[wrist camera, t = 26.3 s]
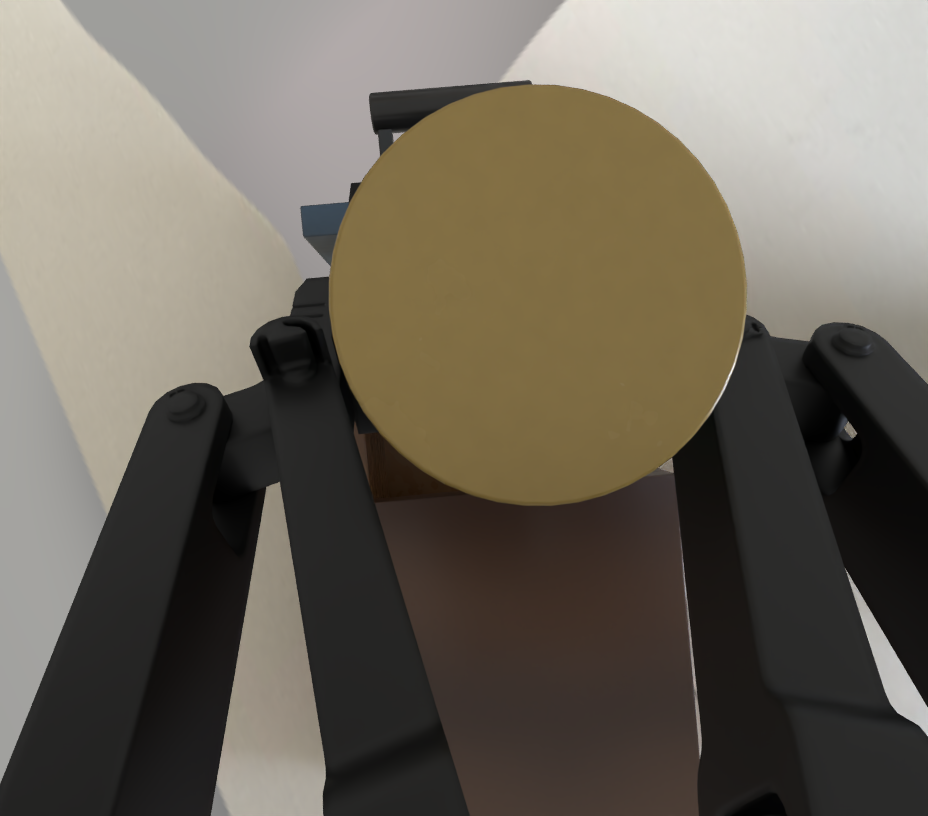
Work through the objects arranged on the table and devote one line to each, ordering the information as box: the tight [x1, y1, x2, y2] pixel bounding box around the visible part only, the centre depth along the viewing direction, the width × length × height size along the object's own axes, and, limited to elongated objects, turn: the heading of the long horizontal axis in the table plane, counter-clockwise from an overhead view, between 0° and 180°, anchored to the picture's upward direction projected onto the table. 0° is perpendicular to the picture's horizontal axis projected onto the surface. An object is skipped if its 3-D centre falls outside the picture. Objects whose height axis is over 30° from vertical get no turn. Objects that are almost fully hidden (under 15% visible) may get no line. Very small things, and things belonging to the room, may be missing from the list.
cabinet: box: [374, 468, 700, 816], centre depth 25 cm, size 16×14×9 cm
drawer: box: [301, 80, 532, 499], centre depth 25 cm, size 20×13×7 cm, turn 5°
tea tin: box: [329, 84, 747, 506], centre depth 13 cm, size 6×6×12 cm
